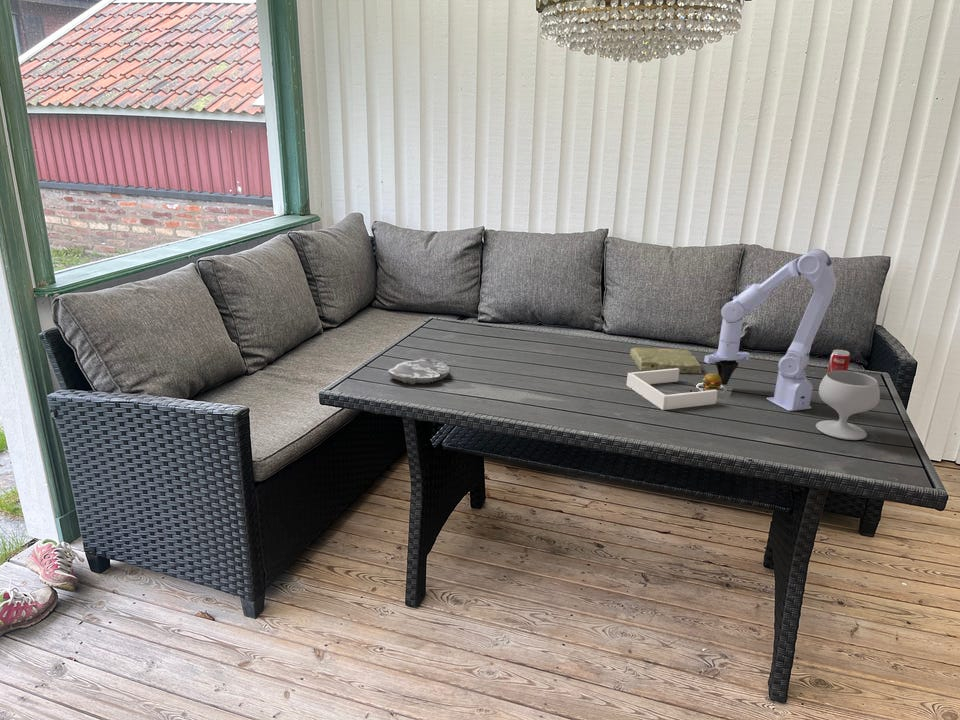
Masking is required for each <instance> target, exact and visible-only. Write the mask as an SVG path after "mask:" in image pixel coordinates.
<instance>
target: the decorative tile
mask: <svg viewBox="0 0 960 720" xmlns="http://www.w3.org/2000/svg"><path fill="white" fill-rule="evenodd" d="M629 355H630V357H631V359H632V360H633V362H634V363H635V365H636V366H637V368H638V367H639V368H638V369H639V370H640V371H641V370H642V371H641V372H643V371H653V370H664V369H674V368H678V369H679V374H698V373H699V374H702V365H701V364H700V362H699V361H698V360H697V358H696V356H695V355H693V353H692V352H690V351H689V349H677V348H655V347H650V348H649V347H647V348H646V347H640V346H639V347H633V348H631V349H630V351H629Z"/></svg>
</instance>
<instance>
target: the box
mask: <svg viewBox="0 0 960 720" xmlns="http://www.w3.org/2000/svg"><path fill="white" fill-rule="evenodd" d="M679 375H680V373H679V369H678V368H674V369H664V370H653V371H636V372H632V371H631V372H627V378H626V387H628V388H630V389H631V388H632V389H631V390H633V392H636V393H637V394H639V395H640V396H641V395H642V396H641V397H643V398H644V399H646V400H647V401H649V402H650V403H651V404H653V405H654V406H656V407H657V408H659V409H661V410H662V411H666V410H676V409H682V408H683V409H684V408H692V407H700V406H701V407H702V406H710V405H716V404H717V399H718V398H717V392H718V391H717V390H708V391H698V392H683V393H681V392H680V393H673V394H665V393H663V392H661V390H658V389H656V388H655V387H654V386H652V385H655V384H656V385H657V384H664V383H673V382H674V383H675V382H677V383H678V382H679Z"/></svg>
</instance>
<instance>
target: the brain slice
mask: <svg viewBox="0 0 960 720" xmlns="http://www.w3.org/2000/svg"><path fill="white" fill-rule="evenodd" d="M450 372H451V367H450V366H448V364H447V363H446V362H445V361H443V360H441V359H437V358H434V357H424V358H420V359H417V360H409V361H403V362H400V363H398V364H396V365H395V366H394V367H391V368H390V369H388V370H387V373H388V375H389V377H391V378H392V379H394V380H395V379H396V380H395V381H398V380H399V382H401V381H402V383H404V384H405V383H408V384H409V383H410V384H409V385H416V384H415V383H422V384H431V383H430V382H432V383H434V381H435V382H436V381H440V380H443V379H444V378H446V377H447V376H448V375H449V373H450Z"/></svg>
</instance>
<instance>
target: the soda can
mask: <svg viewBox="0 0 960 720" xmlns="http://www.w3.org/2000/svg"><path fill="white" fill-rule="evenodd" d="M850 360H851V356H850V351H848V350H844V349H833V350H832V352H831V354H830V357H829V362H828V368H827V373H828V372H830V371H837V370H843V371H849V364H850ZM827 373H826V374H827Z"/></svg>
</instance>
